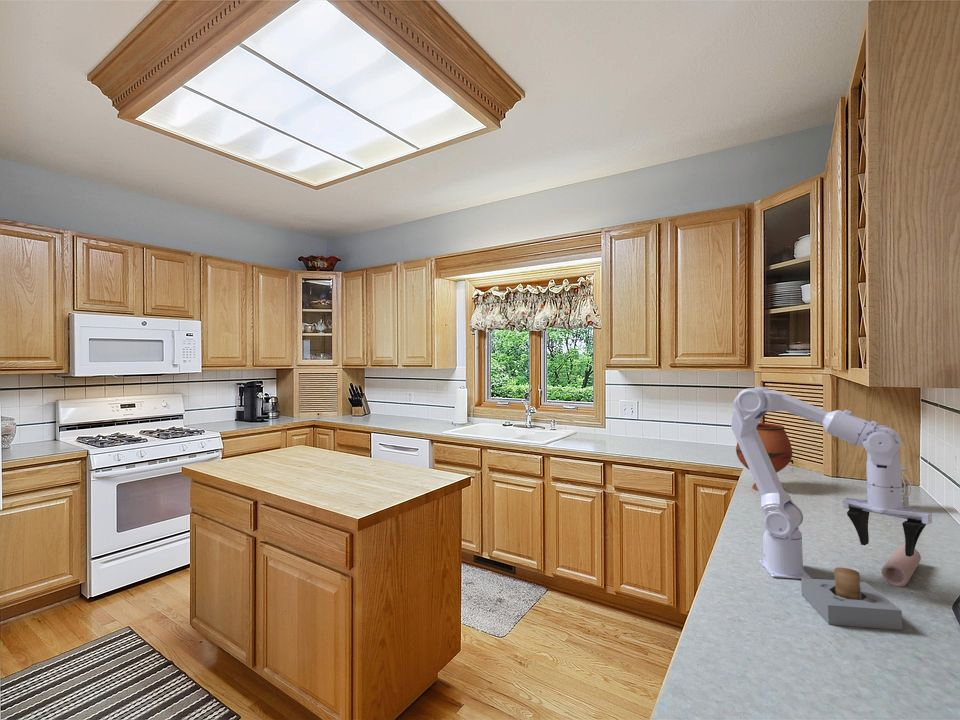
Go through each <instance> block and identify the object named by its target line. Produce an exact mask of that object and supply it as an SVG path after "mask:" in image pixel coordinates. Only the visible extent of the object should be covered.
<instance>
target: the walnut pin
mask: <svg viewBox="0 0 960 720" xmlns="http://www.w3.org/2000/svg"><path fill="white" fill-rule="evenodd" d="M860 577H861V576H860V572H859V571H857V570H854V569H852V568H848V567H835V568H834V580H835V595H837V596H840V597H843V598H846V599H852V600H861V598H860V582H861V580H860Z"/></svg>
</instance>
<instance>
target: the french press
mask: <svg viewBox="0 0 960 720" xmlns="http://www.w3.org/2000/svg"><path fill="white" fill-rule="evenodd" d="M908 469H909V468H908V467H907V466H905V465H903V464H901V472H906V471H908ZM905 477H906V478H907V480H908V483H909V485H908V484H906V483H907V480H906V479H904V478H905ZM911 492H912V482H911V480H910V479H909V477H908V475H906V474H905V473H904V474H903V475H902V501H903V506H904V507H908V508H910V507H909V506H910V505H909V504H910V501H909V499H910V498H909V496H910V495H911Z"/></svg>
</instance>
